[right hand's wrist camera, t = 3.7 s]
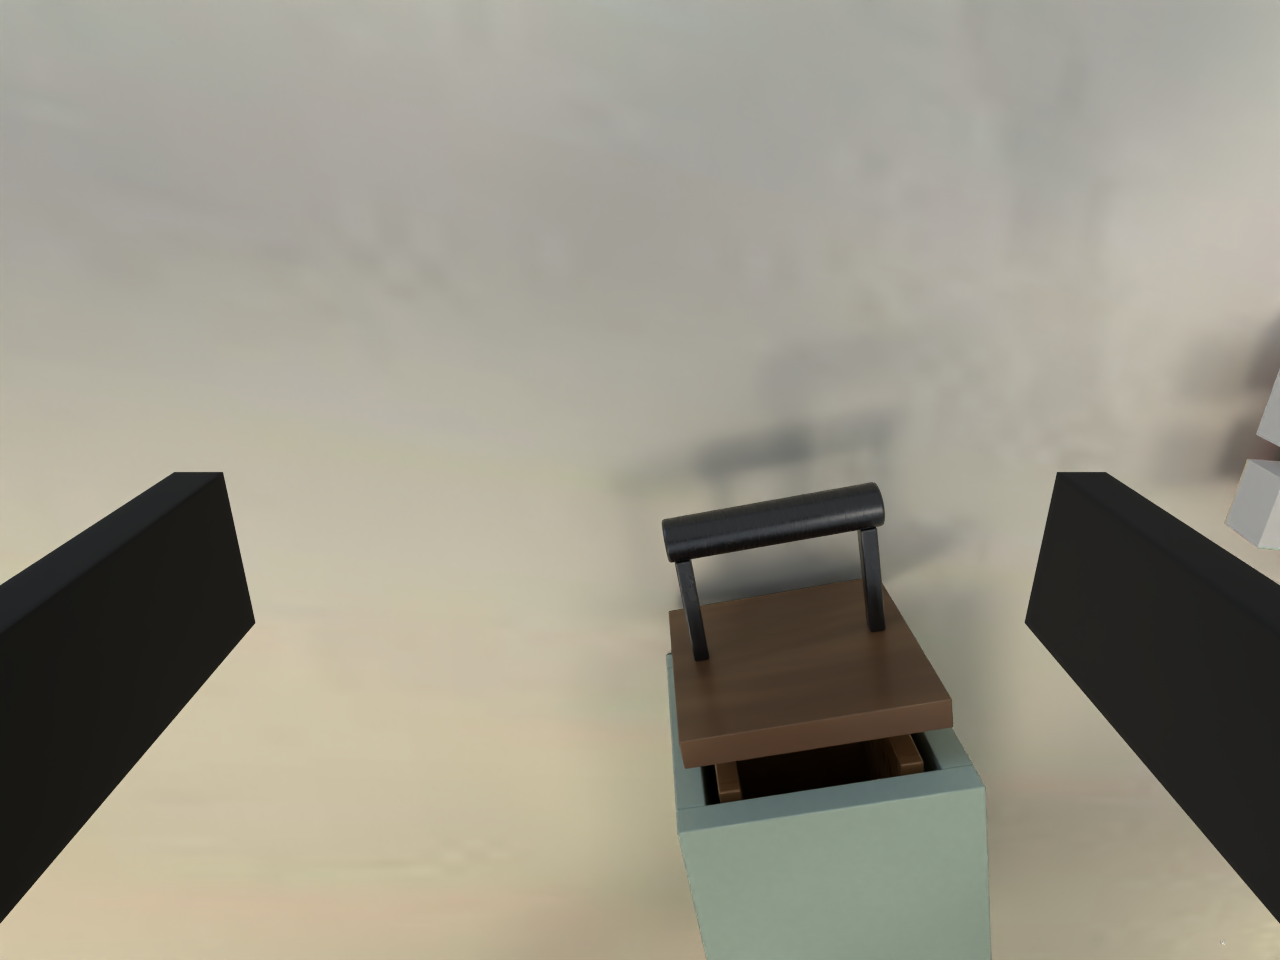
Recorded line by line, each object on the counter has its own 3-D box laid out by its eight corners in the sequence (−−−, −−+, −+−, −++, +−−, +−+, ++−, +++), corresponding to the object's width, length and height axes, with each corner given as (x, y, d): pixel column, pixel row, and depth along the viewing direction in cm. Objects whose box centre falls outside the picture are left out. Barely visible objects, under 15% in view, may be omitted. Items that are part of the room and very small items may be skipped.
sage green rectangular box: (665, 654, 36) (677, 833, 26) (889, 617, 35) (986, 786, 25) (723, 921, 42) (749, 1145, 33) (913, 894, 42) (997, 1114, 32)
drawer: (642, 485, 32) (644, 588, 24) (866, 445, 31) (943, 537, 23) (724, 880, 40) (746, 1052, 32) (903, 854, 39) (969, 1023, 31)
